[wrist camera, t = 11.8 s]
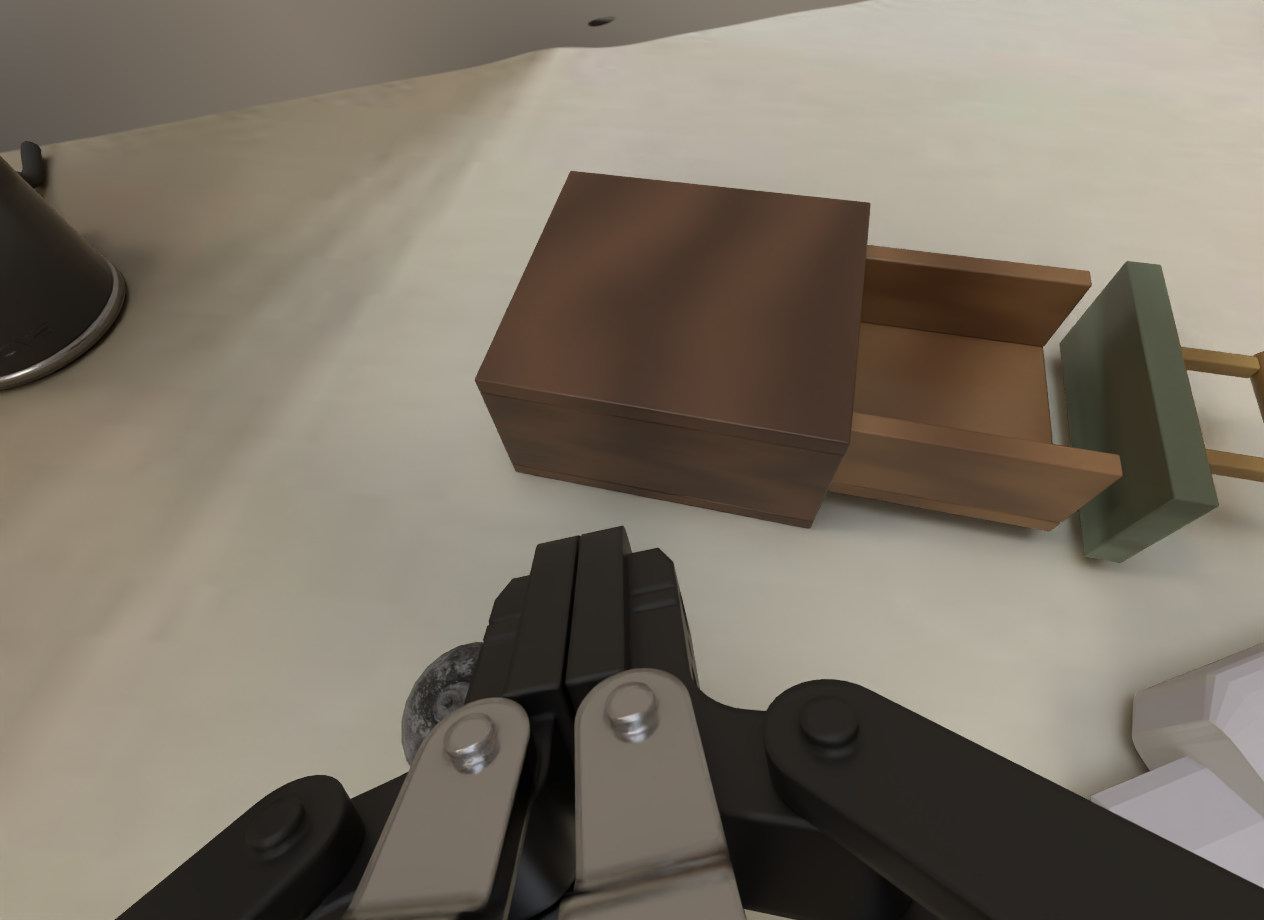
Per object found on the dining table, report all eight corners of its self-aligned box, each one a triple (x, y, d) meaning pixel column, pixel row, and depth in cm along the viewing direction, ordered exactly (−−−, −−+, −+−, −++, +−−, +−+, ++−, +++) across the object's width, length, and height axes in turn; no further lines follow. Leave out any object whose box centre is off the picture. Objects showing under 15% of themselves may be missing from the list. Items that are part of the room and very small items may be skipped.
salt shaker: (660, 686, 22) (648, 565, 11) (627, 885, 19) (572, 965, 9) (501, 655, 23) (355, 517, 12) (446, 841, 20) (197, 865, 9)
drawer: (1212, 364, 26) (1311, 280, 22) (1273, 592, 21) (1414, 539, 17) (821, 311, 29) (846, 228, 25) (797, 502, 24) (823, 438, 20)
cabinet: (834, 316, 30) (871, 202, 24) (810, 529, 24) (850, 444, 19) (587, 282, 32) (570, 169, 26) (515, 471, 26) (473, 379, 21)
